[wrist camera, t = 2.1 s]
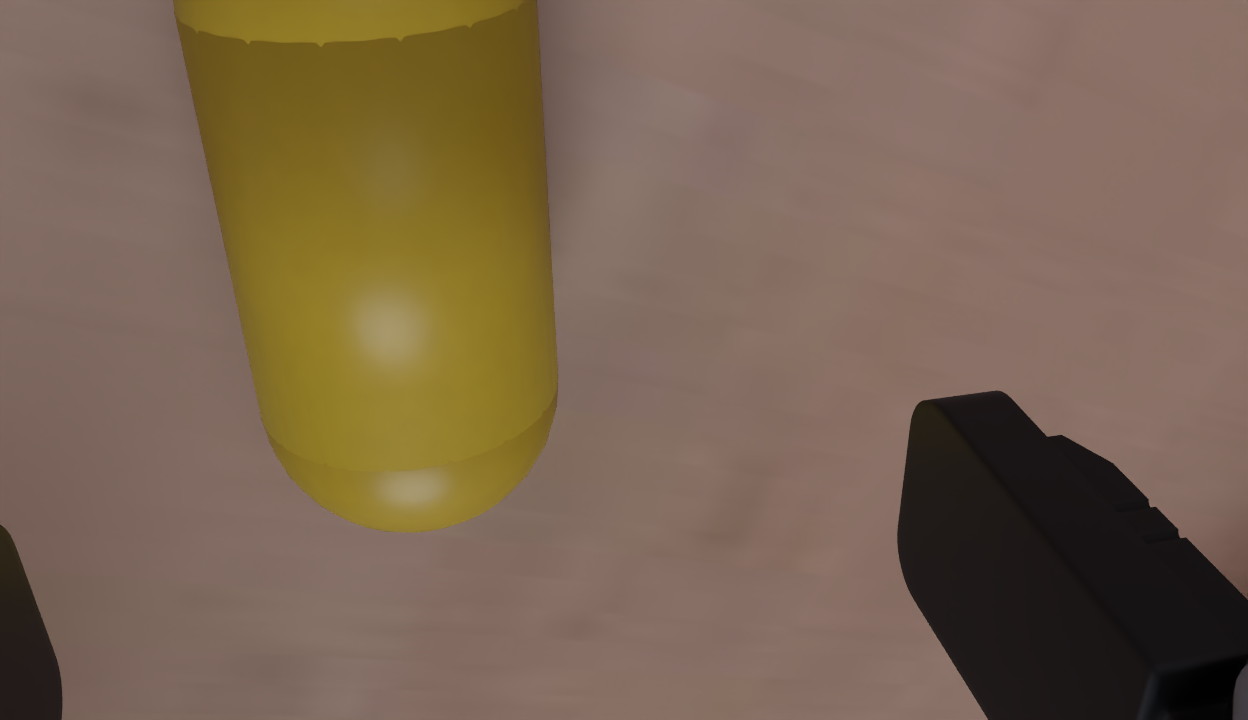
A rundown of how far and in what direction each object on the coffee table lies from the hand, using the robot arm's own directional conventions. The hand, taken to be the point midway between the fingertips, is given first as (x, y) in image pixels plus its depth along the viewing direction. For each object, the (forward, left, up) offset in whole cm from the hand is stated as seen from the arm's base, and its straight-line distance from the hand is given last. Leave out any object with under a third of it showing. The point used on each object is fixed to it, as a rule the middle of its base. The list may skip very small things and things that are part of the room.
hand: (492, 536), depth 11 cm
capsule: (0, 0, -10) cm, 10 cm away
